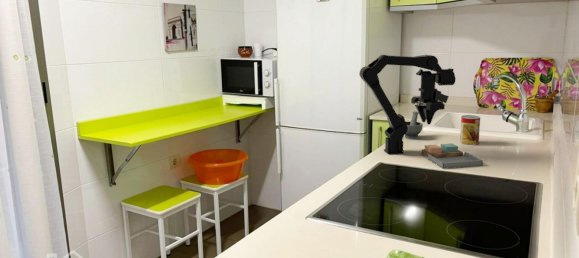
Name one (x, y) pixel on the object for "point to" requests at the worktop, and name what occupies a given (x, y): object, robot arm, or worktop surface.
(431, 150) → the terracotta tile
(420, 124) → the mortar and pestle
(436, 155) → the walnut step
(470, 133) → the canned food
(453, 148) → the teal tile
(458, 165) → the grey tray
